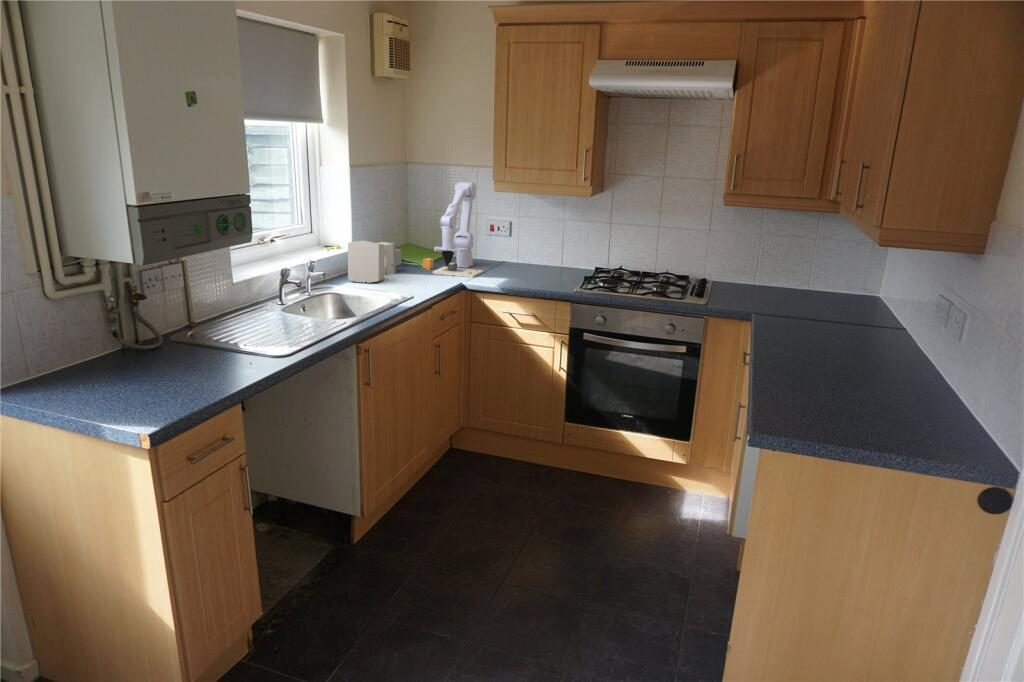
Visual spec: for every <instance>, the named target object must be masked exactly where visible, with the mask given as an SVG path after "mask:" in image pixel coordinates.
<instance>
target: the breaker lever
mask: <svg viewBox="0 0 1024 682" xmlns="http://www.w3.org/2000/svg"><path fill="white" fill-rule="evenodd" d="M447 267H448V270H456V269H457V268H458V267H457V262H455V261H453V262H450V263H449V264H448V266H447Z"/></svg>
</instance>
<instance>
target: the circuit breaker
mask: <svg viewBox="0 0 1024 682" xmlns="http://www.w3.org/2000/svg"><path fill="white" fill-rule="evenodd" d="M379 243H382V244H384V251H385V252H384V276H387V275H386V274H390V275H392V274H391V273H394V274H396V273H397V269H396V268H397V266H400V265H402V264H403V263H402V261H403V259H402V256H403V253H402V249H398V248H396V243H395V242H387V241H381V242H379Z"/></svg>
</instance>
